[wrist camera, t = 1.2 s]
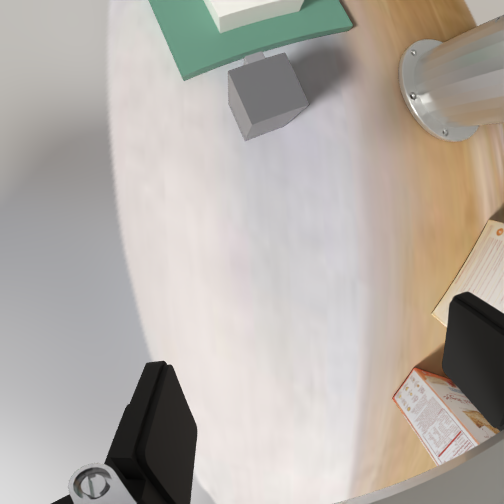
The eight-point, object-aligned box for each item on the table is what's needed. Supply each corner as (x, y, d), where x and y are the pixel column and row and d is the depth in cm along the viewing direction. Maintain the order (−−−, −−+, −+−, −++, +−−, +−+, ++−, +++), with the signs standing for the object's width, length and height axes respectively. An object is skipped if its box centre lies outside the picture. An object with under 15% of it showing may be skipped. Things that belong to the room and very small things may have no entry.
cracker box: (466, 380, 38) (540, 459, 18) (444, 409, 40) (509, 492, 19) (414, 363, 36) (503, 467, 16) (389, 397, 37) (460, 508, 17)
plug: (265, 84, 27) (281, 45, 17) (284, 126, 28) (309, 104, 19) (226, 98, 27) (224, 63, 18) (244, 141, 28) (252, 124, 19)
